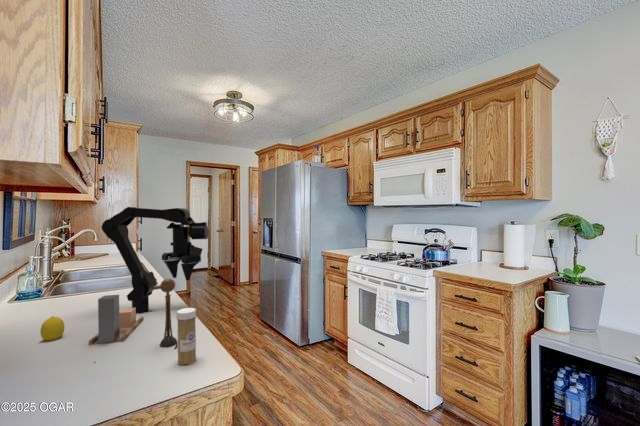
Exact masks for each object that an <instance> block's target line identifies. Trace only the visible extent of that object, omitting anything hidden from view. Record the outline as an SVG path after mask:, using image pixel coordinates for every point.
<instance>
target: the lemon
mask: <svg viewBox="0 0 640 426" xmlns="http://www.w3.org/2000/svg"><path fill="white" fill-rule="evenodd" d="M64 332H65V322H64V321H63V319H62V318H60V317H57V316H55V315H51V316H50V317H49V318H47V319H45V320H44V321H43V323H42V324H41V326H40V336H41V338H42V340H43V341H46V342H51V341H56V340H59V339H60V338H61V337H62V336H63V334H64Z"/></svg>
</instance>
